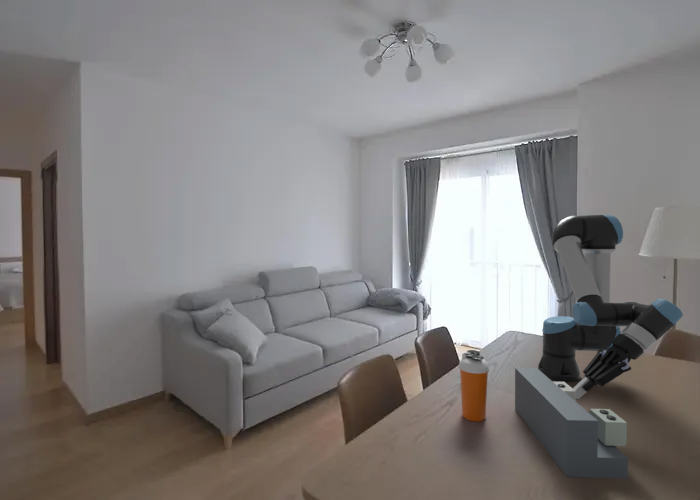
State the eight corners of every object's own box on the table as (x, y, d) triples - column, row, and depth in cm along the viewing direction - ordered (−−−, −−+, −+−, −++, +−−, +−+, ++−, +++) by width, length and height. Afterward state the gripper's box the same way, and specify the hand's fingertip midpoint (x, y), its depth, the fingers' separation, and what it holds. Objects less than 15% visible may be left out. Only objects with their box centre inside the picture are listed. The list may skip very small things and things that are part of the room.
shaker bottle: (474, 426, 113) (474, 361, 112) (453, 413, 121) (453, 353, 120) (494, 418, 118) (494, 356, 117) (473, 407, 125) (473, 348, 124)
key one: (564, 400, 118) (564, 380, 117) (575, 411, 111) (576, 390, 110) (547, 400, 118) (547, 380, 118) (558, 410, 111) (558, 390, 111)
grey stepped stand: (558, 410, 122) (559, 368, 122) (627, 478, 89) (629, 421, 88) (515, 409, 123) (515, 367, 123) (566, 476, 90) (567, 420, 89)
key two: (608, 431, 100) (609, 408, 99) (626, 446, 93) (626, 421, 92) (589, 430, 100) (589, 407, 100) (605, 445, 93) (605, 420, 93)
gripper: (657, 358, 105) (595, 414, 107) (627, 344, 118) (571, 394, 120) (638, 339, 105) (576, 396, 108) (609, 327, 118) (555, 378, 120)
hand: (574, 395), depth 114 cm, fingers closed
